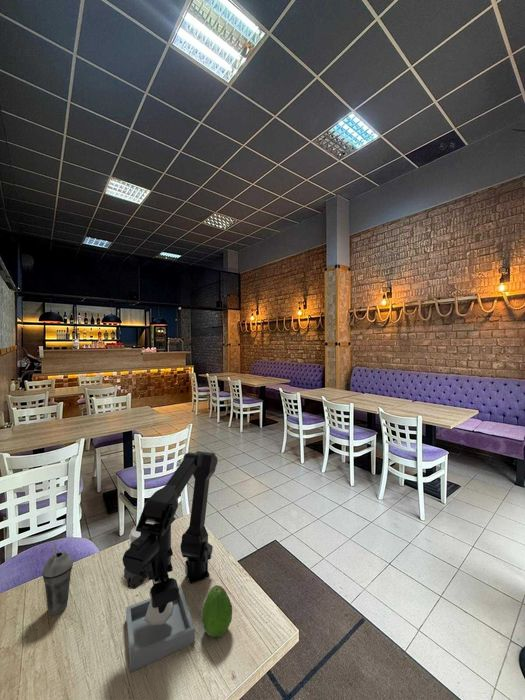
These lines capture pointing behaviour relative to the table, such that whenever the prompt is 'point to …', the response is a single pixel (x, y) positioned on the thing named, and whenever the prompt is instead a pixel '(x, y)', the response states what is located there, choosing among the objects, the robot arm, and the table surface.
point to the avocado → (216, 612)
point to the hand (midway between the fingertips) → (159, 603)
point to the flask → (153, 613)
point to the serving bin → (157, 633)
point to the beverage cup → (57, 581)
